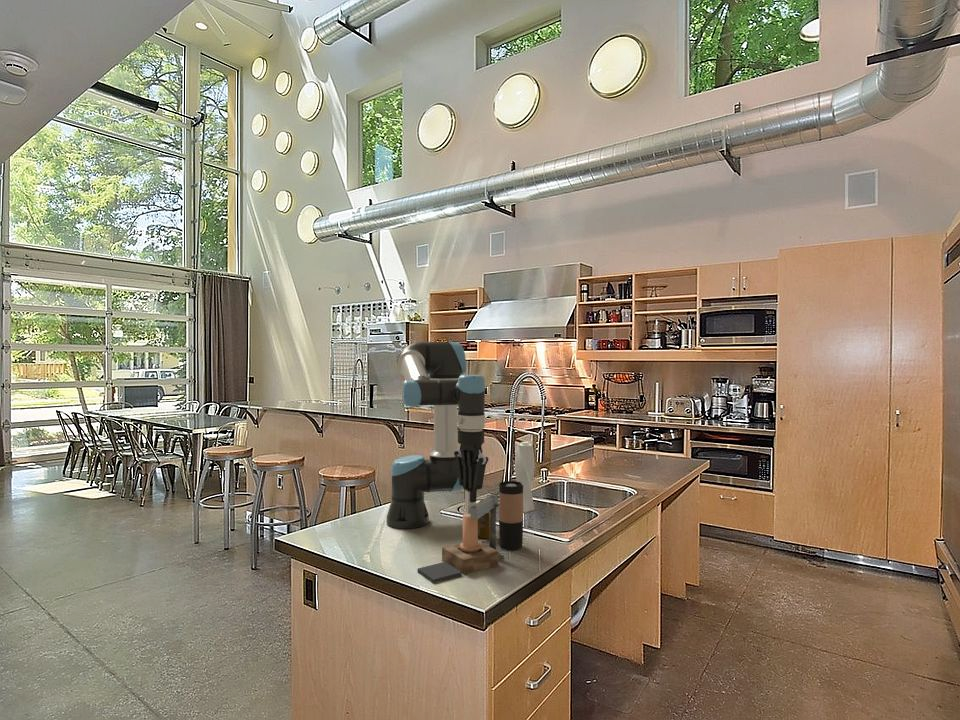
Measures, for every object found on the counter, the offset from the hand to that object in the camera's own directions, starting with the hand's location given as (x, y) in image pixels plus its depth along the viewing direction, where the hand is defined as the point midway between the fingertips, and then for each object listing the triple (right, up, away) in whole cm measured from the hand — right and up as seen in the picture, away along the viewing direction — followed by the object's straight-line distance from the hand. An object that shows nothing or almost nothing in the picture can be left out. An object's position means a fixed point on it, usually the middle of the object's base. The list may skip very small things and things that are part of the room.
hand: (470, 512), depth 162 cm
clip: (+4, -1, +4) cm, 6 cm away
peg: (0, -16, +6) cm, 17 cm away
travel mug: (+13, -16, +19) cm, 28 cm away
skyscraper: (+20, -15, +58) cm, 63 cm away
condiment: (+4, -16, +28) cm, 32 cm away
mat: (-9, -16, -2) cm, 19 cm away
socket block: (+2, -16, +7) cm, 18 cm away
